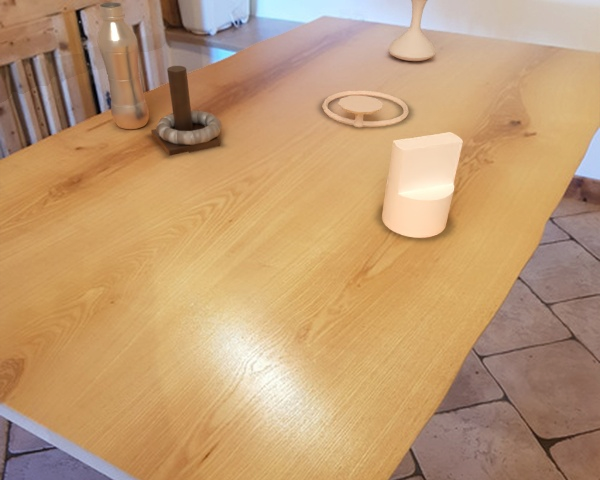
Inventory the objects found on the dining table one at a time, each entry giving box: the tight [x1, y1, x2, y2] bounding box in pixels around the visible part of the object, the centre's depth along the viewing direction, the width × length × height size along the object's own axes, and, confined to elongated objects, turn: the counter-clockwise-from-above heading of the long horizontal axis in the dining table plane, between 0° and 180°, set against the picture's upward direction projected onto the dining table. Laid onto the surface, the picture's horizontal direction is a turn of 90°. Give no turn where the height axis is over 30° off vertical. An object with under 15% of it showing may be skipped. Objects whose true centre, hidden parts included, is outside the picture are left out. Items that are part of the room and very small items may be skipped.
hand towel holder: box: [321, 89, 409, 128], centre depth 105 cm, size 17×4×21 cm
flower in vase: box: [387, 0, 436, 62], centre depth 125 cm, size 13×11×25 cm
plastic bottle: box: [97, 1, 150, 130], centre depth 94 cm, size 6×7×20 cm
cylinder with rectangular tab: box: [381, 131, 464, 239], centre depth 73 cm, size 9×9×12 cm
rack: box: [150, 65, 221, 157], centre depth 91 cm, size 9×9×12 cm
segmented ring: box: [155, 110, 223, 145], centre depth 94 cm, size 11×11×2 cm
